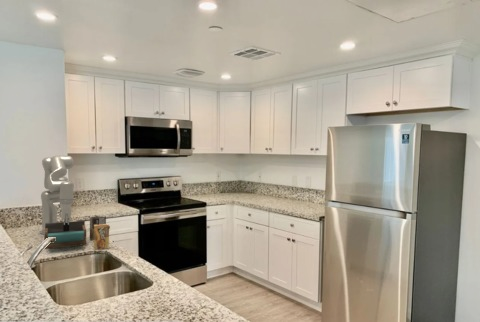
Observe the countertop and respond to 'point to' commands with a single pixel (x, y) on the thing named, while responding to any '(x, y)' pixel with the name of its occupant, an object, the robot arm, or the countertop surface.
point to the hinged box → (58, 228)
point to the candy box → (101, 236)
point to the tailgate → (67, 236)
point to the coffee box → (95, 221)
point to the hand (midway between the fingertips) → (66, 230)
